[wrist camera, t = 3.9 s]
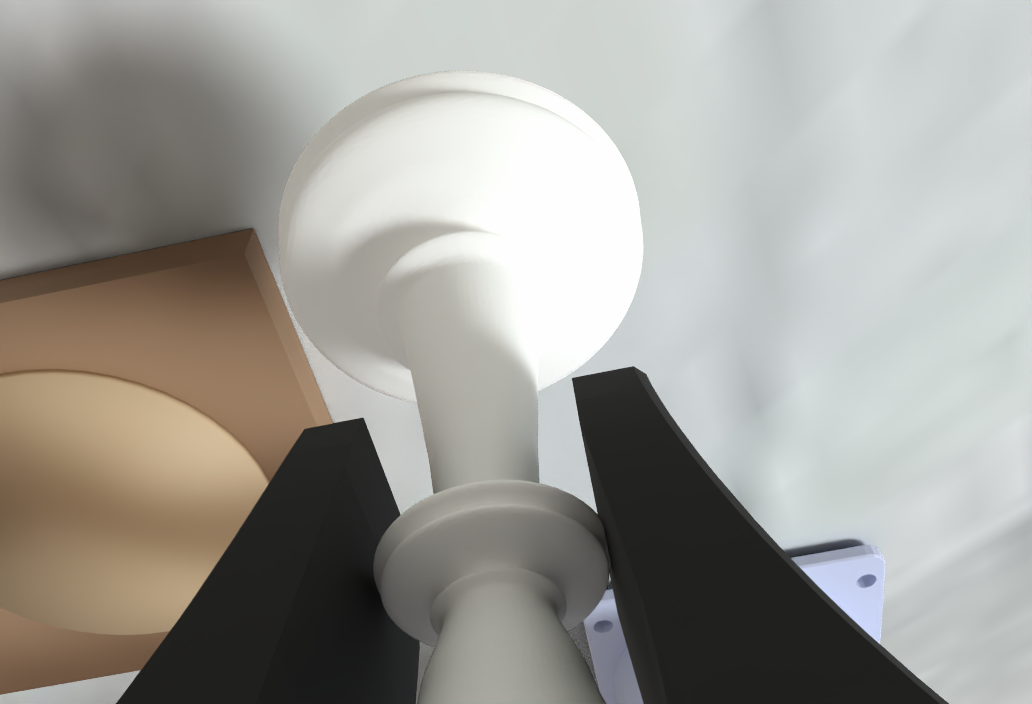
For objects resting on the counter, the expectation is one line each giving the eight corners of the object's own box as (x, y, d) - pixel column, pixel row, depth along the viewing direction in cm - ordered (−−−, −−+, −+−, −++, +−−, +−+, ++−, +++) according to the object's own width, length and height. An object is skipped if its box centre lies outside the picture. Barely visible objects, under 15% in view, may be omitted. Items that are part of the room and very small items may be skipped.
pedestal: (402, 593, 24) (400, 630, 23) (7, 663, 24) (-11, 703, 24) (253, 228, 17) (241, 259, 16) (-276, 336, 18) (-317, 372, 17)
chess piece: (399, 426, 14) (394, 1360, 7) (200, 181, 12) (-233, 1325, 4) (687, 298, 13) (1089, 1215, 6) (548, -5, 11) (978, 1016, 3)
